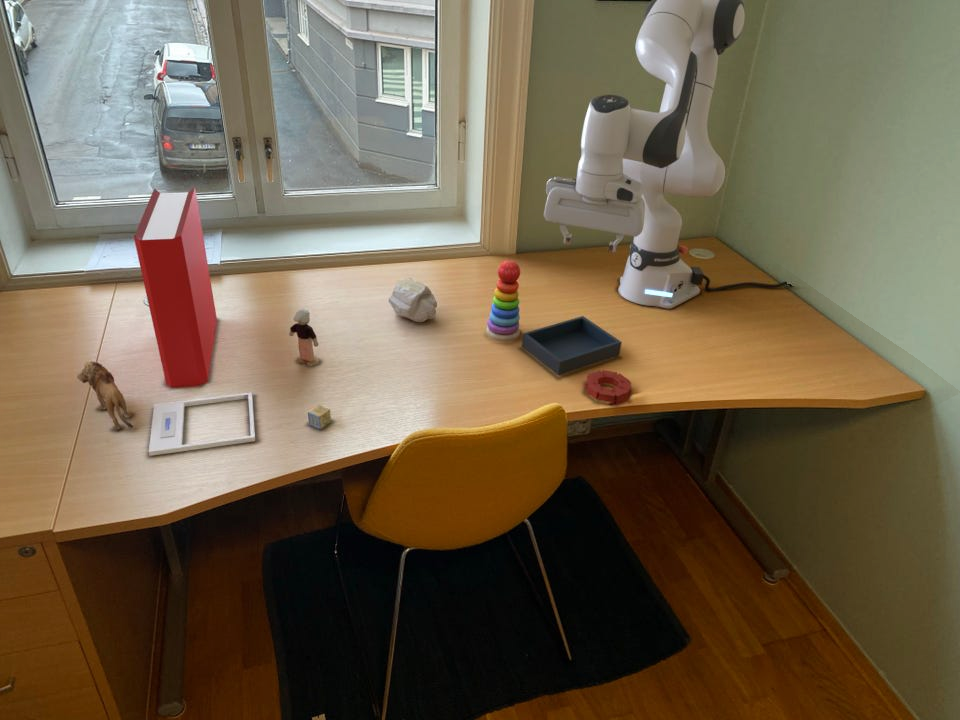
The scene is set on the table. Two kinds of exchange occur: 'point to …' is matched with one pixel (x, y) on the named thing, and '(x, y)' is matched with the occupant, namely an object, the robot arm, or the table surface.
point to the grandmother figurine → (304, 337)
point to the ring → (605, 394)
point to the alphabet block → (319, 417)
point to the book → (178, 286)
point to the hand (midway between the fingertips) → (589, 247)
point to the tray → (571, 345)
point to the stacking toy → (505, 304)
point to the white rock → (413, 300)
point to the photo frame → (171, 422)
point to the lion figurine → (105, 391)
